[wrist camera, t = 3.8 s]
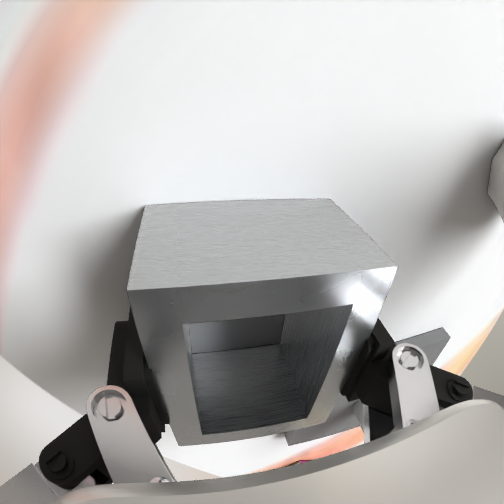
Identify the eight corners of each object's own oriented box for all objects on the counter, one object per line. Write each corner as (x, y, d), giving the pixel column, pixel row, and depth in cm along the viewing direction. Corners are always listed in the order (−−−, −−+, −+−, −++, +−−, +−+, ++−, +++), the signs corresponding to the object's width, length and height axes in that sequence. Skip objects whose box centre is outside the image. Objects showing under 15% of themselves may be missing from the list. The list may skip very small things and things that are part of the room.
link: (145, 205, 9) (126, 289, 5) (330, 198, 10) (398, 266, 7) (172, 368, 13) (178, 446, 10) (297, 353, 14) (324, 422, 11)
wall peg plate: (311, 362, 15) (359, 472, 9) (442, 327, 17) (494, 398, 12) (284, 435, 20) (308, 507, 15) (390, 404, 22) (420, 462, 17)
